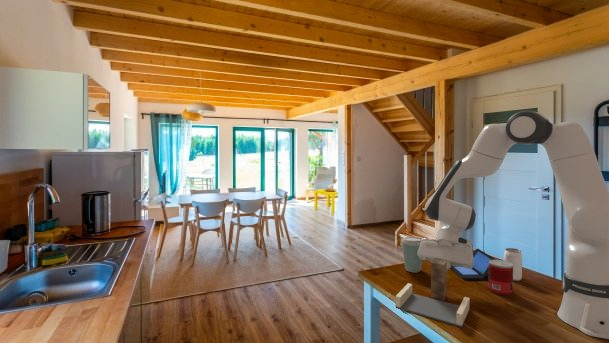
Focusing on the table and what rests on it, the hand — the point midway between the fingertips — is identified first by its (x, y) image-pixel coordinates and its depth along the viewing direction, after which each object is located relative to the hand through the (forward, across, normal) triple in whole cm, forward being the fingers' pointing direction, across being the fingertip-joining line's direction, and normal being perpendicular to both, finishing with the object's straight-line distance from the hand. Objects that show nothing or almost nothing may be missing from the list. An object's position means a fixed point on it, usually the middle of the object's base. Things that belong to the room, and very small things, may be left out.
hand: (441, 272), depth 119 cm
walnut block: (+8, 0, +3) cm, 9 cm away
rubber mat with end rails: (+16, 0, -5) cm, 16 cm away
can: (-17, +21, +28) cm, 39 cm away
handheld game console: (-14, +6, +26) cm, 29 cm away
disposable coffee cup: (-6, -16, +18) cm, 25 cm away
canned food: (-5, +18, +16) cm, 25 cm away
